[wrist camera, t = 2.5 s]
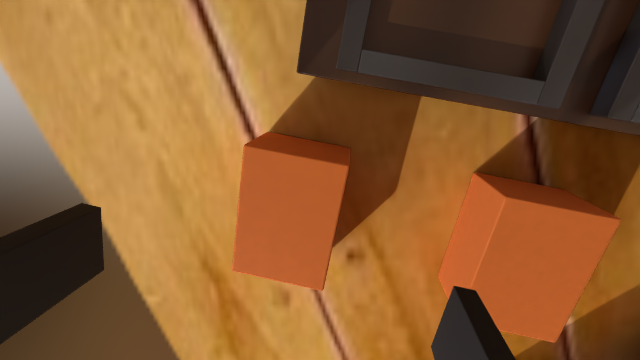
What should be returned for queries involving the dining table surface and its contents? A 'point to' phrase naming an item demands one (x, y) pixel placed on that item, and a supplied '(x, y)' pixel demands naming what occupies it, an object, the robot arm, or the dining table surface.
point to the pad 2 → (525, 252)
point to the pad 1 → (289, 208)
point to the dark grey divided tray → (487, 54)
